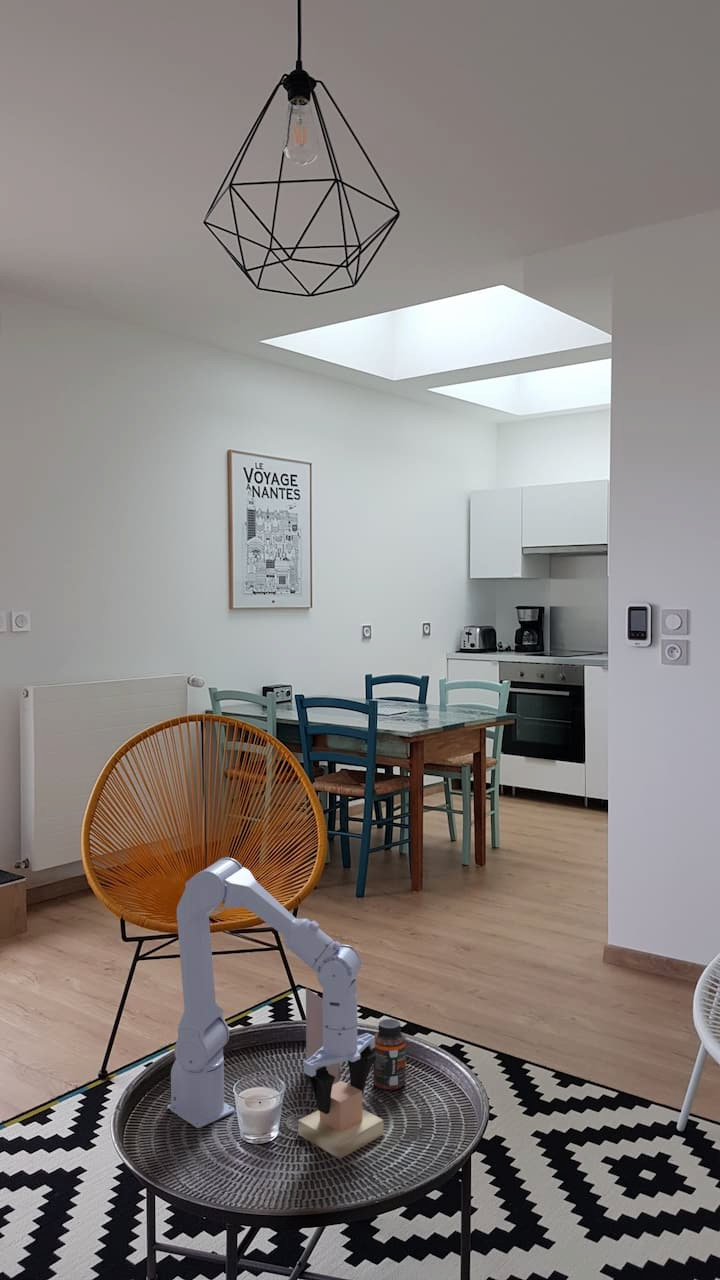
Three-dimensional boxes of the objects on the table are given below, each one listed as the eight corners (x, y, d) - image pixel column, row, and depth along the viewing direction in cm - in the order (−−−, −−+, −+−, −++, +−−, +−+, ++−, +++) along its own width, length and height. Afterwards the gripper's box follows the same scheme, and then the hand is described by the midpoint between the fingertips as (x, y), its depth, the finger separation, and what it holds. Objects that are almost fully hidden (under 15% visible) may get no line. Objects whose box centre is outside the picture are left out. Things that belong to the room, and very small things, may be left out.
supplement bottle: (403, 1093, 180) (402, 1031, 179) (370, 1090, 181) (370, 1029, 180) (408, 1077, 186) (407, 1017, 185) (376, 1074, 187) (376, 1015, 186)
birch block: (298, 1137, 166) (298, 1120, 166) (341, 1115, 173) (341, 1098, 173) (339, 1162, 159) (339, 1143, 159) (383, 1137, 166) (383, 1119, 166)
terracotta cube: (319, 1120, 166) (319, 1091, 166) (341, 1109, 170) (340, 1080, 169) (340, 1132, 163) (340, 1102, 162) (362, 1120, 166) (361, 1090, 166)
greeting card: (343, 1090, 181) (342, 1008, 180) (302, 1089, 181) (301, 1008, 180) (345, 1060, 192) (345, 983, 192) (307, 1059, 193) (306, 983, 192)
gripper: (324, 1044, 157) (324, 1128, 158) (387, 1016, 168) (388, 1095, 168) (294, 1030, 162) (295, 1112, 163) (358, 1004, 173) (358, 1080, 173)
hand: (340, 1102), depth 166 cm, fingers open, 7 cm apart
